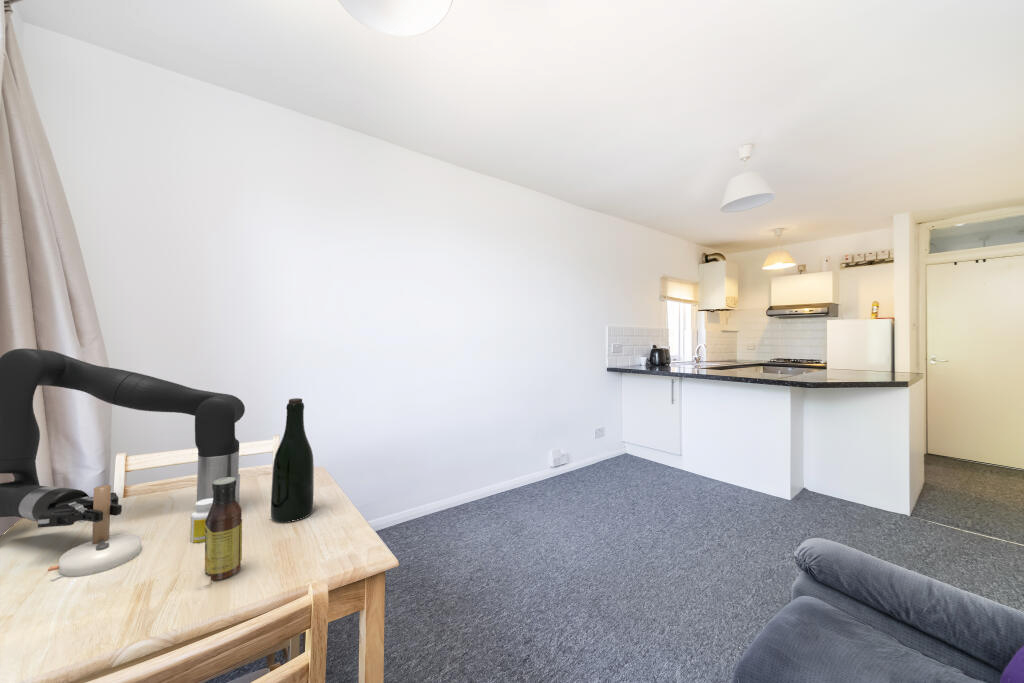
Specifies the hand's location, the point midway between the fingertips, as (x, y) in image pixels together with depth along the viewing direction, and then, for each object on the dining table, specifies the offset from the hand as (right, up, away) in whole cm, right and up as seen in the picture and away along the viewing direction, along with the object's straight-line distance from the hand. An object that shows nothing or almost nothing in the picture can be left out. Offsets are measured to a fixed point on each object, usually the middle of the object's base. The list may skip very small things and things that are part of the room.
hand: (110, 513), depth 84 cm
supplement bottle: (+15, -11, +8) cm, 20 cm away
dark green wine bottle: (+27, -11, +23) cm, 37 cm away
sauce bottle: (+28, -11, -4) cm, 31 cm away
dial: (+1, -9, -2) cm, 9 cm away
